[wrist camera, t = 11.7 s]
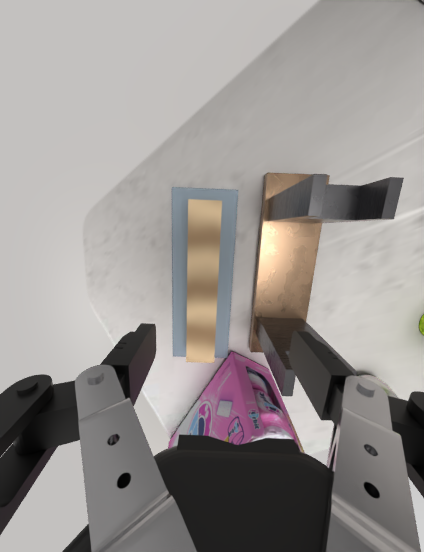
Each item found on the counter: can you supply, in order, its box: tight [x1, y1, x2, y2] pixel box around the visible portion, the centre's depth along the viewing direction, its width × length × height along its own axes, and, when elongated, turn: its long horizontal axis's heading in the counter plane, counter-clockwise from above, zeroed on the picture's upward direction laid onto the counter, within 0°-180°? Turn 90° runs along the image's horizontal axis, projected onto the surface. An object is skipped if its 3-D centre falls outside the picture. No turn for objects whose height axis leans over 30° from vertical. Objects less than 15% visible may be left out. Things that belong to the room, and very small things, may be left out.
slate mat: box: [172, 187, 238, 358], centre depth 30 cm, size 26×9×1 cm, turn 178°
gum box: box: [168, 352, 305, 453], centre depth 29 cm, size 24×8×14 cm, turn 150°
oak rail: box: [186, 199, 222, 363], centre depth 28 cm, size 22×4×4 cm, turn 178°
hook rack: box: [249, 173, 404, 396], centre depth 23 cm, size 26×8×13 cm, turn 178°
